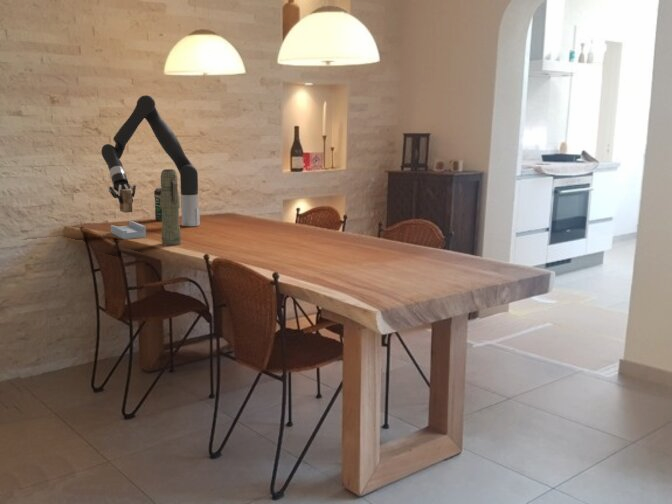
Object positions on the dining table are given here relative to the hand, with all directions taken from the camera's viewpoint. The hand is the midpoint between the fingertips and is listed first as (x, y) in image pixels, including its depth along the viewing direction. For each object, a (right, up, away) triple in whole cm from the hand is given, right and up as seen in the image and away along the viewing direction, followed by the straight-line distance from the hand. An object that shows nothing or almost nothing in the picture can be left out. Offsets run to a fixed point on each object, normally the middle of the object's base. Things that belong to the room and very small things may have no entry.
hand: (126, 202), depth 340 cm
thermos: (+27, -21, -20) cm, 40 cm away
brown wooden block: (-1, -4, +3) cm, 5 cm away
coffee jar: (+5, -6, +53) cm, 54 cm away
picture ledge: (0, -16, +3) cm, 16 cm away
